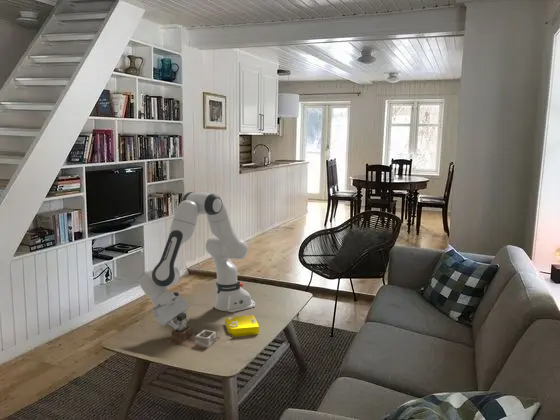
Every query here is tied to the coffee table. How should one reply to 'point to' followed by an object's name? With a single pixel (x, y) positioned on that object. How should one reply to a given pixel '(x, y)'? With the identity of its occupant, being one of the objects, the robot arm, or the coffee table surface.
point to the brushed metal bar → (181, 322)
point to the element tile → (242, 325)
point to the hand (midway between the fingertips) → (182, 324)
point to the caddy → (194, 338)
